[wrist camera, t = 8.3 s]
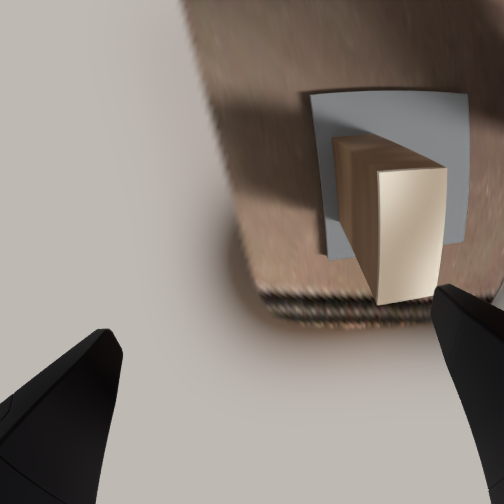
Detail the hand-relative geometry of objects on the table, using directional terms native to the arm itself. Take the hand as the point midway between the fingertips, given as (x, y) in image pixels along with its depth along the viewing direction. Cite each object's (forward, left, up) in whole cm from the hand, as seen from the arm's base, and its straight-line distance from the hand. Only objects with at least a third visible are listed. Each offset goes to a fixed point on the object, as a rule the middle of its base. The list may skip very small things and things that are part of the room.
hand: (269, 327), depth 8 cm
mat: (-8, 0, -12) cm, 14 cm away
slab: (-5, 0, -11) cm, 12 cm away
